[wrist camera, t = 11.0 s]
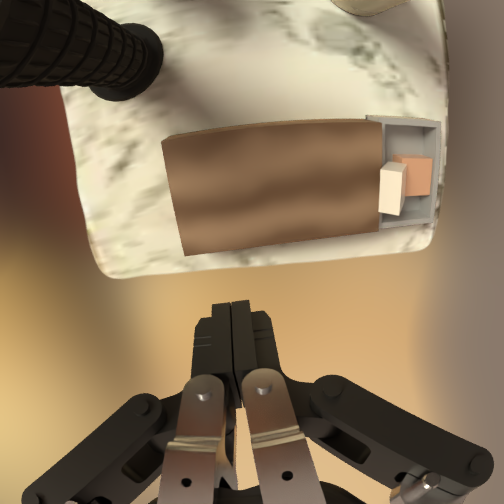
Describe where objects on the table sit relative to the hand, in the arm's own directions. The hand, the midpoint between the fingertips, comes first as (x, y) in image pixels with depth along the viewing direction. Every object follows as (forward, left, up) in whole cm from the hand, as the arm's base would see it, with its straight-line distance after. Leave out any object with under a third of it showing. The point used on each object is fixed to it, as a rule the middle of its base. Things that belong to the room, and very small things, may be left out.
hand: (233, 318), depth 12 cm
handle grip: (-16, -10, -25) cm, 32 cm away
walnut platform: (+1, +6, -25) cm, 26 cm away
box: (+1, +22, -25) cm, 33 cm away
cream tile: (+2, +18, -21) cm, 28 cm away
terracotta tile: (+2, +24, -22) cm, 32 cm away
